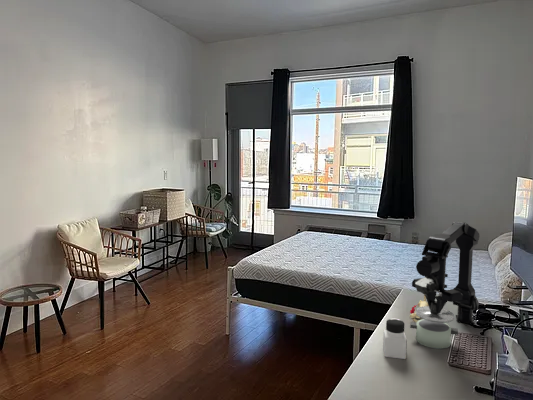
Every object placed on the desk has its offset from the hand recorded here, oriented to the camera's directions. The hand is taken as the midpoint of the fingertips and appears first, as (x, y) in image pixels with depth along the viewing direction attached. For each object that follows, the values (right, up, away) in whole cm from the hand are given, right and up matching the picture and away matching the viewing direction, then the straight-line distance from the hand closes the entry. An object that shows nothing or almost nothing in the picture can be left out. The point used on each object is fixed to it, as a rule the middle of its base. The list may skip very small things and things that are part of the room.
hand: (434, 311), depth 147 cm
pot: (0, -11, +1) cm, 12 cm away
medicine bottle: (-18, -13, -8) cm, 23 cm away
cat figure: (+5, -9, +24) cm, 26 cm away
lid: (0, -2, 0) cm, 2 cm away
